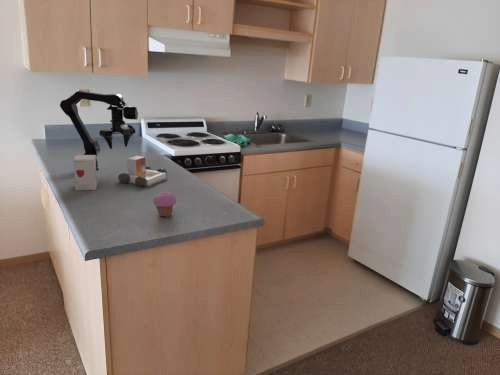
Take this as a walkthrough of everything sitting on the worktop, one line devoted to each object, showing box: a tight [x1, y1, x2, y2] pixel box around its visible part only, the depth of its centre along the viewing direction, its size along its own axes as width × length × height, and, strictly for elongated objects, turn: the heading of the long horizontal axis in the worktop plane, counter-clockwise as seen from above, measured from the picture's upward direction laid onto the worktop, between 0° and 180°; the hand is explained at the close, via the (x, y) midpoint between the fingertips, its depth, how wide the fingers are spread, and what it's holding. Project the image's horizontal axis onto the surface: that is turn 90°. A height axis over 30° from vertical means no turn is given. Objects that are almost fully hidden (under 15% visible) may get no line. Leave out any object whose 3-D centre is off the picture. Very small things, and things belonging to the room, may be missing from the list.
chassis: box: [118, 164, 168, 188], centre depth 206 cm, size 20×17×5 cm
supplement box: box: [73, 154, 98, 191], centre depth 188 cm, size 9×9×15 cm
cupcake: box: [152, 191, 177, 217], centre depth 162 cm, size 9×9×10 cm
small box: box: [126, 155, 147, 177], centre depth 205 cm, size 8×6×10 cm
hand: (118, 147), depth 216 cm, fingers open, 9 cm apart
